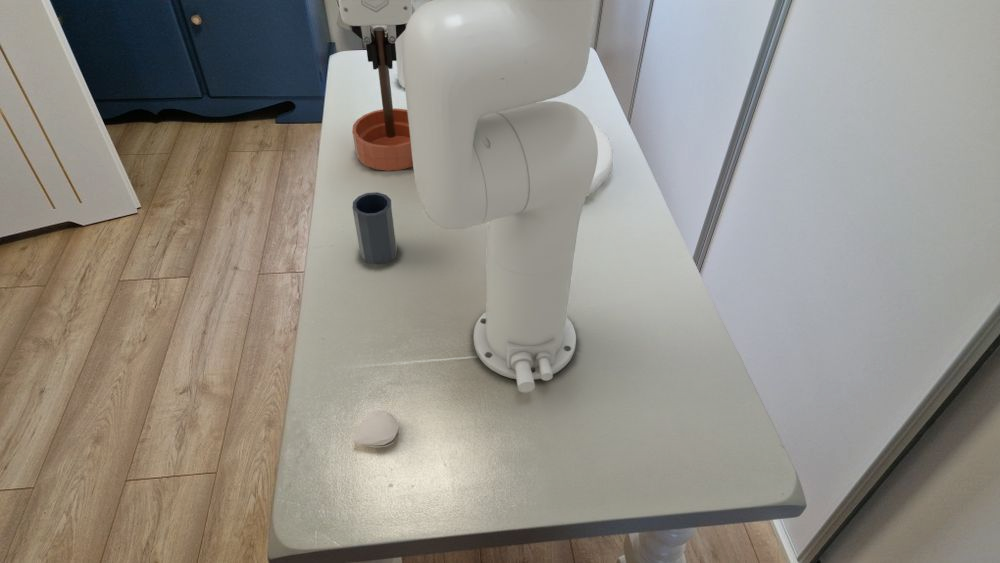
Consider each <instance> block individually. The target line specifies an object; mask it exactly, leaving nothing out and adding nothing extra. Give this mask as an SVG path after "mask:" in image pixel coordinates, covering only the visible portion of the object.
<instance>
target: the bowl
mask: <svg viewBox="0 0 1000 563" xmlns="http://www.w3.org/2000/svg"><path fill="white" fill-rule="evenodd" d="M393 114H394V124H395V133H396V136H395V137H393V138H388V137H387V136H386V131H385V122H384V114H383V108H382V109H377V110H373V111H370V112H368V113H366V114H363V115H362V116H360V117H359V118H358V119H356V121H354V124H353V125H352V131H351V132H352V138H353V144H354V151H355V156H356V158H357V160H358V161H359V162H360V163H362V164H363V165H364V166H366V167H368V168H371V169H374V170H379V171H387V172H388V171H389V172H391V171H394V172H395V171H400V170H405V169H410V168H412V167H413V160H412V150H411V140H410V131H409V121H408V112H407V108H406V109H405V108H395V107H393Z"/></svg>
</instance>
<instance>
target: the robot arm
mask: <svg viewBox="0 0 1000 563" xmlns="http://www.w3.org/2000/svg"><path fill="white" fill-rule="evenodd" d="M595 1H596V0H430V1H426V3H425V4H423V5H422V6H420V7H419V8H418V9H417V10H416V11H415V9H414V6H413V4H412V0H338V7H339V11H338V14H337V15H338V16H337V19H336V26H337V27H338V28H340V29H343V30H346V31H350V32H352V33H353V34H355V35H356V36H357V37H359V38H360V39H361V40H362V41H363V42H362V43H364V44H365V49H366V56H367V62H368V63H372V70H378V60H377V51H376V43H375V37H374V32H372V26H374V27H375V26H377V27H378V26H386V27H387V28H386V29H387V32H386V33H385V38H386V41H385V47H386V56H387V66H388V68H389V70H393V62H396V61H397V57H396V46H395V42H396V39H397V38H398V37H399V36H400V35H401V34H402V33H403V32H404V31H405V34H404V39H403V55H402V56H403V73H404V83H405V88H404V93H405V101H406V102H405V103H406V110H407V112H408V121H409V131H410V140H411V150H412V160H413V166H412V167H413V176H414V181H415V188H416V191H417V194H418V198H419V202H420V204H421V206H422V209H423V210H424V213H425V214H426V215H427V217H428V218H429V220H430V221H432V223H433V224H435V225H436V226H438V227H440V228H442V229H446V230H452V231H453V230H464V229H468V228H472V227H475V226H478V225H479V226H480V225H482V224H487V228H486V289H485V290H486V301H485V304H486V306H485V308H486V309H485V311H484V312H483V313H482V314H481V315H480V316H479V318H478V319H477V321H476V322H475V325H474V329H473V346H474V349H475V352H476V354H477V357H478V358H479V360H480V361H481V362H482V363H483V364H484V365H485V366H486V367H487V368H488V369H490V370H491V371H493V372H494V373H496V374H498V375H500V376H503V377H505V378H509V379H514V380H516V385H517V390H518V391H519V392H520V393H523V394H524V393H530V392H533V391H534V390H535V388H536V383H535V380H542V381H546V382H547V381H550V380H552V379H553V378H554V375H555V374H556V373H558V372H560V371H561V370H562V369H564V368H565V367H567V365H568V363H569V362H570V361H571V360H572V358H573V356H574V354H575V350H576V345H577V332H576V329H575V327H574V324H573V323H572V321H571V320H570V318H569V317H568V316H567V314H568V306H569V300H570V299H569V298H570V290H571V281H572V274H573V268H574V267H573V266H574V258H575V253H576V252H575V251H576V246H577V236H578V231H579V230H578V229H579V226H580V225H579V224H580V219H581V215H582V211H583V208H584V205H585V203H586V202H585V201H586V199H587V196H588V195H589V194H588V192H589V189H590V186H591V184H592V181H593V178H594V174H595V170H596V165H597V158H598V145H597V138H596V134H595V131H594V128H593V126H592V124H591V122H592V121H591V120H590V119H589V117H588V116H587V115H586V114H585V113H584V112H583V111H582V110H581V109H579V108H578V107H576V106H575V105H572V104H569V103H567V102H562V101H555V100H554V101H553V100H551V99H554V98H558V97H561V96H563V95H566V94H567V93H569V92H571V91H573V90H574V89H576V88H577V87H578V86H579V85H580V83H581V82H582V81H583V79H584V77H585V75H586V72H587V68H588V64H589V59H590V54H591V53H590V52H591V45H592V44H591V43H592V34H593V24H594V23H593V21H594V13H595V12H594V11H595ZM405 29H406V30H405ZM548 100H551V101H548ZM488 114H489V115H488ZM589 120H590V121H591V122H590V121H589ZM587 194H588V195H587Z"/></svg>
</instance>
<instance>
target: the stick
mask: <svg viewBox="0 0 1000 563" xmlns="http://www.w3.org/2000/svg"><path fill="white" fill-rule="evenodd" d="M373 34H374V37H375V43H376V51H377V60H378V68H377V70H378V79H379V87H380V88H379V89H380V96H381V103H382V104H381V105H382V109H383V114H384V122H385V131H386V136H387V137H388V138H393V137H395V136H396V133H395V124H394V114H393V108H394V107H393V96H392V88H391V77H390V69H389V68H388V66H387V56H386V47H385V41H386V38H385V37H386V30H385V27H382V26H377V27H374V28H373Z"/></svg>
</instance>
